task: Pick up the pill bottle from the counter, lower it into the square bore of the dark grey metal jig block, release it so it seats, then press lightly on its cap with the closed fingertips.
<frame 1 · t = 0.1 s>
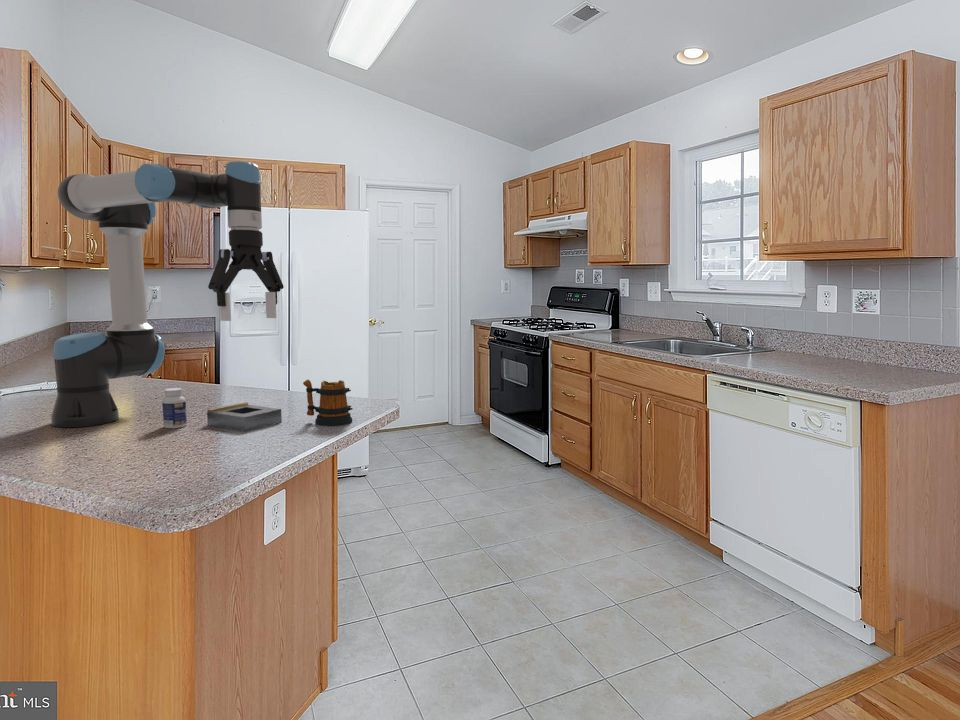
hand: (249, 319, 149), 28 cm above the countertop, fingers open, 13 cm apart
pill bottle: (175, 427, 159), on the countertop
jig: (245, 423, 162), on the countertop
mug: (328, 422, 164), on the countertop
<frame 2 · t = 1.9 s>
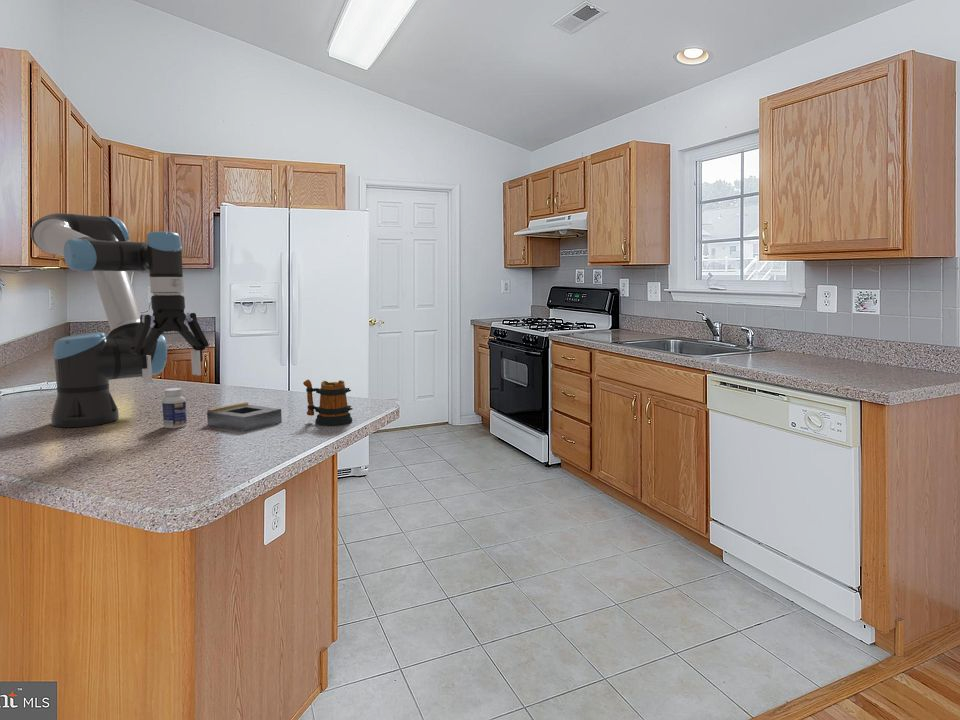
hand: (173, 378, 157), 13 cm above the countertop, fingers open, 13 cm apart
nothing on the countertop moved.
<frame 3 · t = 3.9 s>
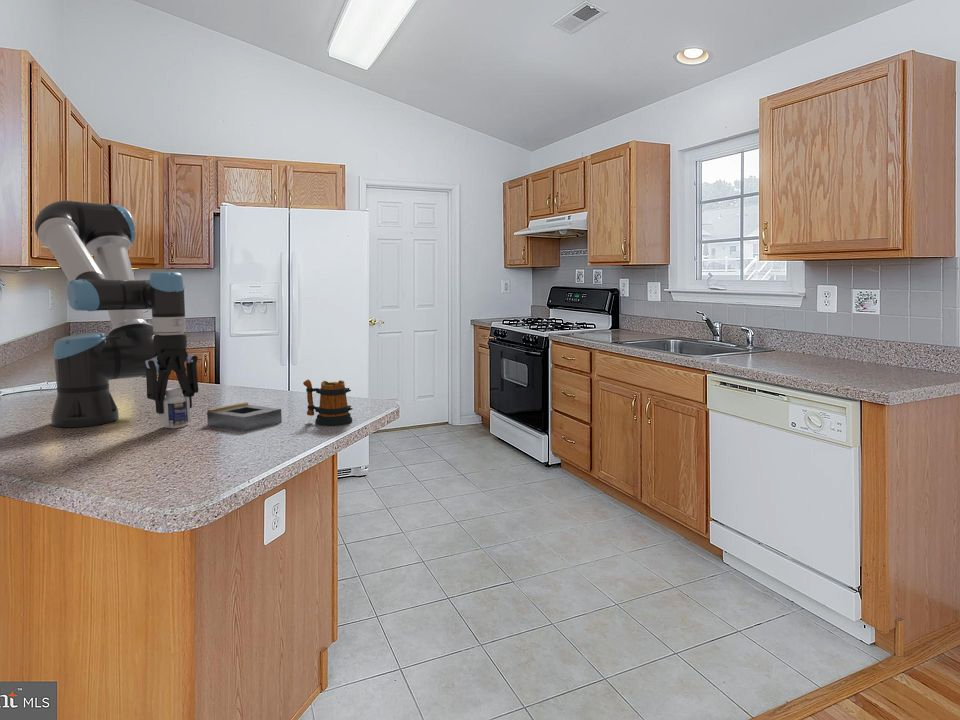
hand: (175, 423, 159), 1 cm above the countertop, fingers closed on pill bottle, 5 cm apart
pill bottle: (175, 427, 159), on the countertop, touching gripper
everything else where it was.
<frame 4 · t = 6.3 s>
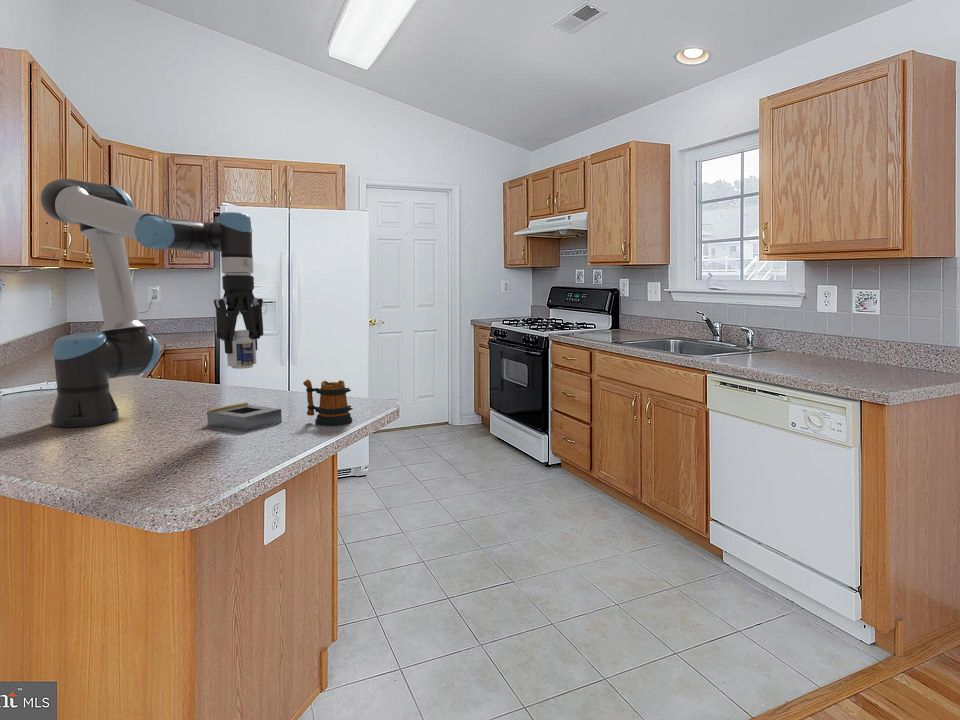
hand: (242, 364, 160), 16 cm above the countertop, fingers closed on pill bottle, 5 cm apart
pill bottle: (242, 368, 160), point 15 cm above the countertop, touching gripper
everything else where it was.
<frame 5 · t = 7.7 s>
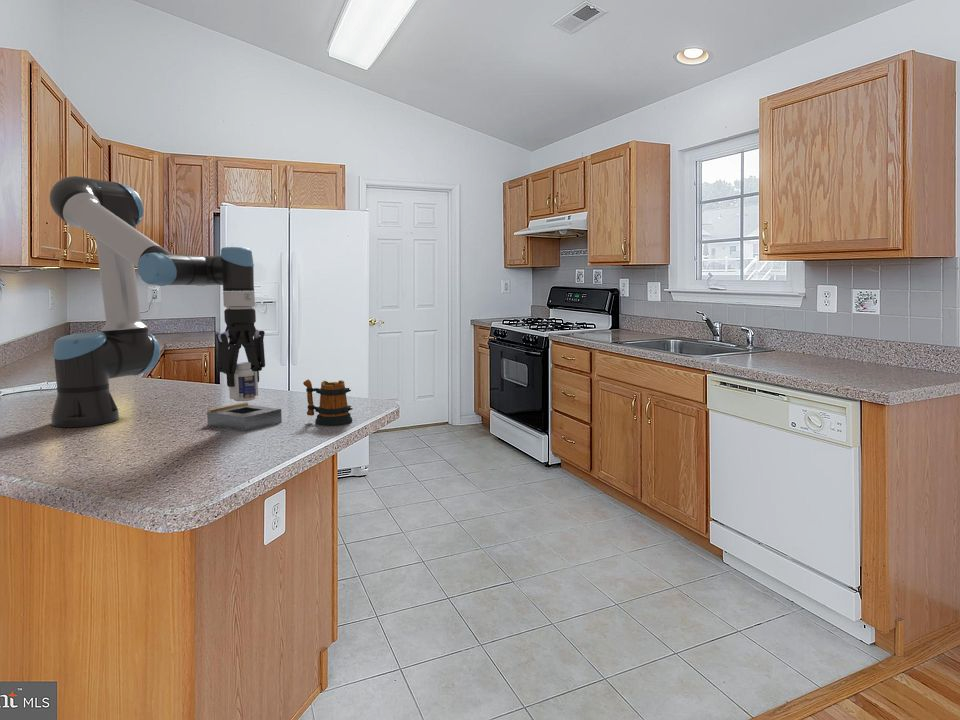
hand: (244, 396, 161), 7 cm above the countertop, fingers closed on pill bottle, 5 cm apart
pill bottle: (244, 400, 161), point 6 cm above the countertop, touching gripper
everything else where it was.
when the fingers open (5 cm above the countertop, at t = 8.9 s): pill bottle drops 3 cm, resting on jig.
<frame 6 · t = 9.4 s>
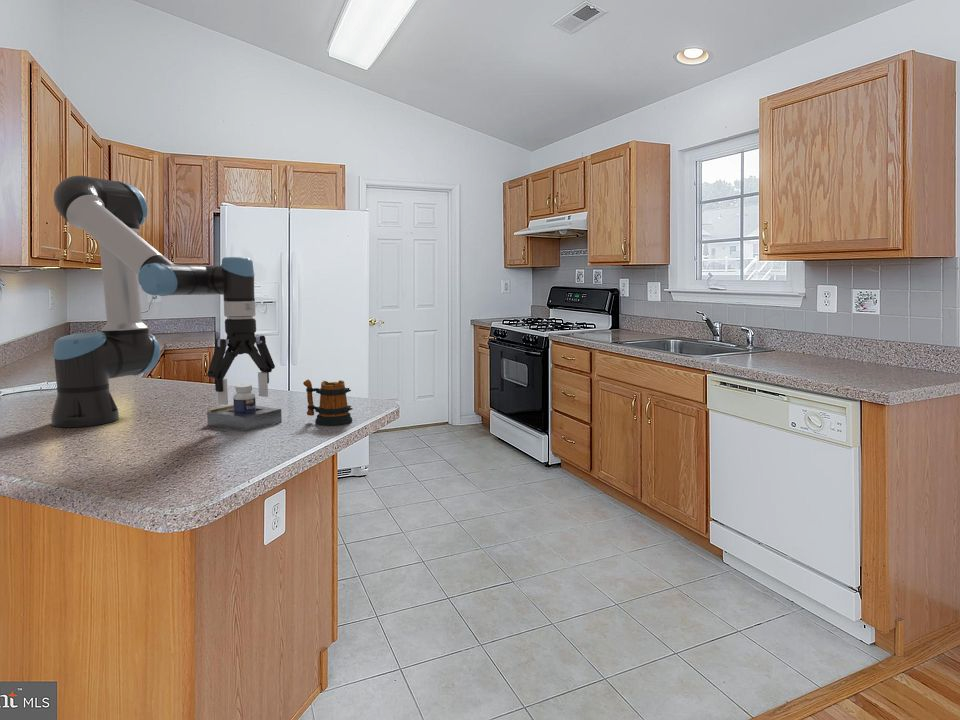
hand: (244, 400, 161), 6 cm above the countertop, fingers open, 12 cm apart
pill bottle: (245, 422, 162), resting on jig
everything else where it was.
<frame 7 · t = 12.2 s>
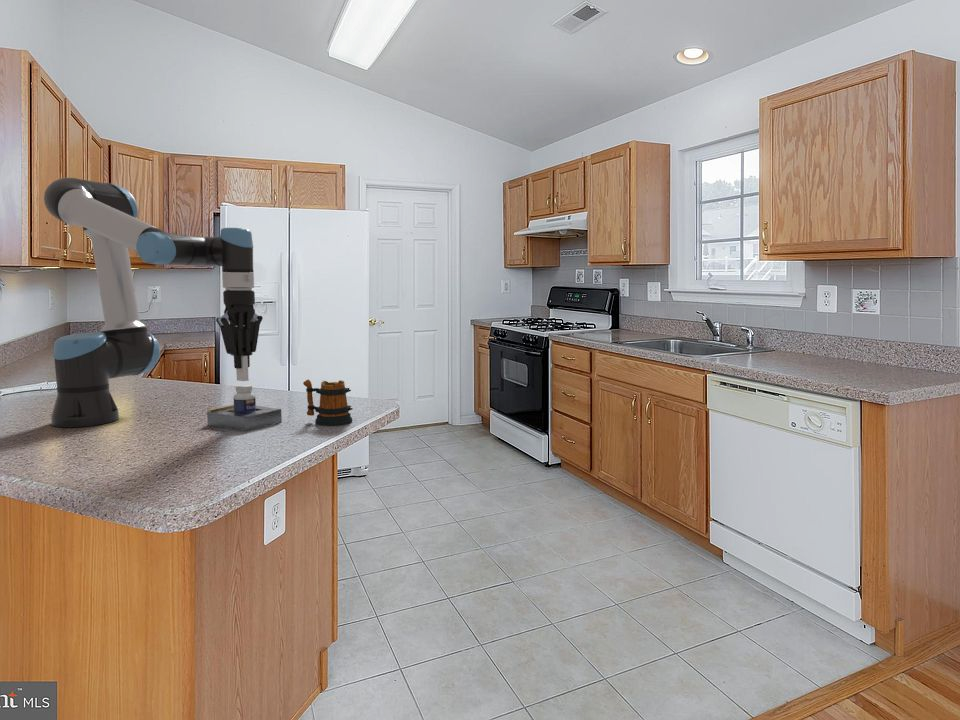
hand: (242, 380, 161), 11 cm above the countertop, fingers closed
nothing on the countertop moved.
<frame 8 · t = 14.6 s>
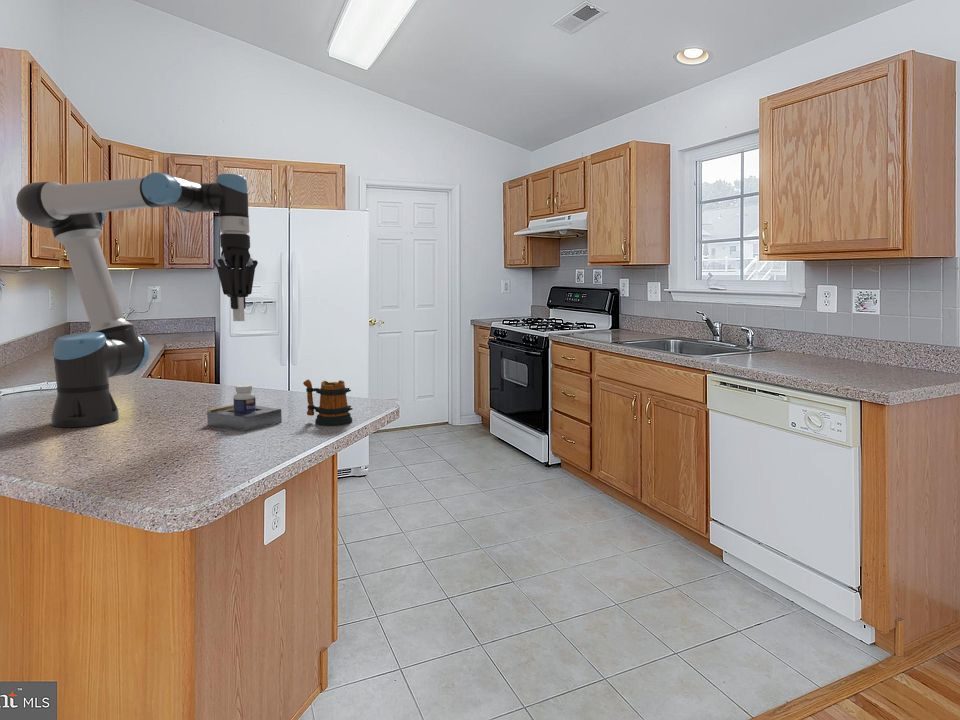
hand: (238, 320, 169), 26 cm above the countertop, fingers closed
nothing on the countertop moved.
at the end: pill bottle 0.2 cm off-centre on the jig, point 0.1 cm above the jig's base; pill bottle tilted 0°; the gripper is holding nothing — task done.
